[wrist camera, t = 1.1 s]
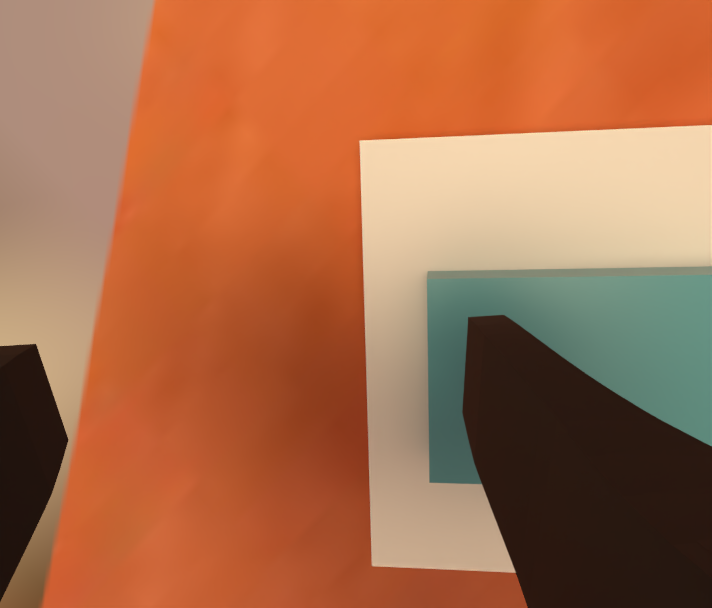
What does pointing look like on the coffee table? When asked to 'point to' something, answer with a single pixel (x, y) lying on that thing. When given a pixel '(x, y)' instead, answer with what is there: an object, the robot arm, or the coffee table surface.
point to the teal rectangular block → (577, 342)
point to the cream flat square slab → (497, 252)
